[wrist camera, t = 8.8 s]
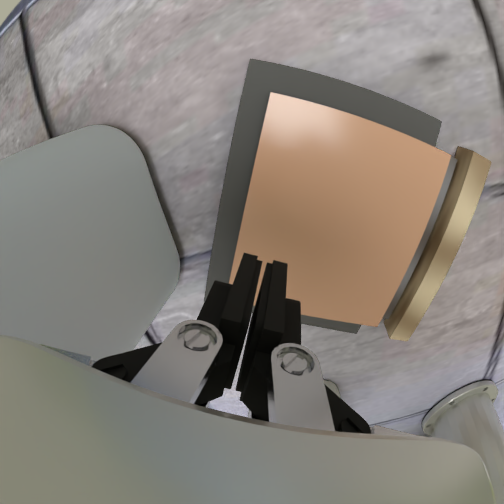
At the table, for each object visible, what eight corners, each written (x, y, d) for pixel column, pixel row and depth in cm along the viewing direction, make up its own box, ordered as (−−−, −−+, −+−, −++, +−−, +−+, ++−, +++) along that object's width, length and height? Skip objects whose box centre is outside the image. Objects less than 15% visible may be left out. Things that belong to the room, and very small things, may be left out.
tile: (451, 155, 15) (270, 92, 15) (377, 326, 22) (225, 299, 21) (442, 151, 16) (270, 93, 16) (373, 317, 23) (227, 289, 22)
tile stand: (400, 325, 24) (407, 341, 22) (369, 319, 24) (374, 336, 22) (475, 155, 17) (491, 161, 15) (442, 138, 17) (458, 142, 15)
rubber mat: (354, 326, 24) (356, 333, 24) (206, 294, 24) (203, 301, 24) (435, 120, 16) (441, 121, 15) (251, 61, 16) (250, 58, 15)
